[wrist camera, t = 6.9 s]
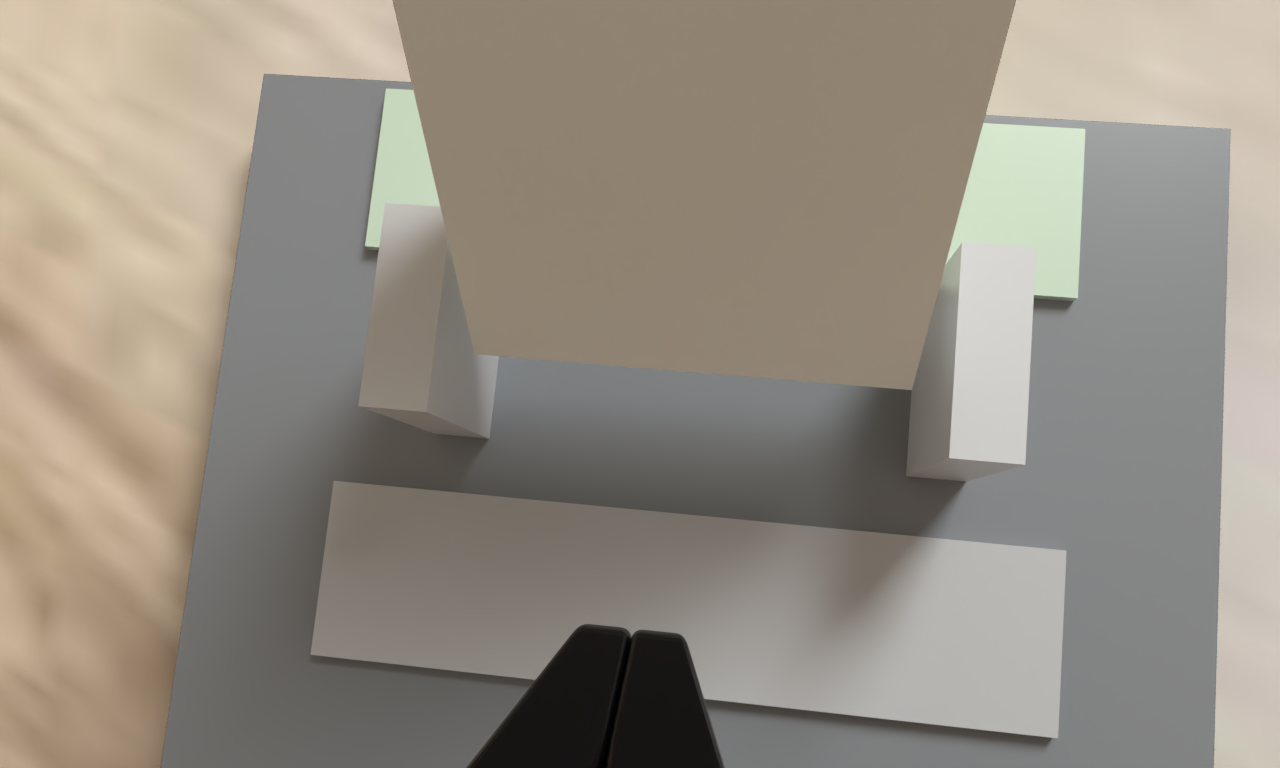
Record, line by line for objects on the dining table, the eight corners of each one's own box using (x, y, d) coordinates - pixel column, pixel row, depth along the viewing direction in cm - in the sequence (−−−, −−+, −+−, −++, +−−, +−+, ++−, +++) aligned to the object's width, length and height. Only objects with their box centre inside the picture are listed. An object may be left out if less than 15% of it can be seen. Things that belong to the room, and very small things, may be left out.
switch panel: (1154, 1511, 14) (1334, 1933, 10) (118, 1326, 16) (-121, 1624, 11) (1195, 158, 17) (1355, 22, 12) (295, 104, 18) (154, -35, 14)
